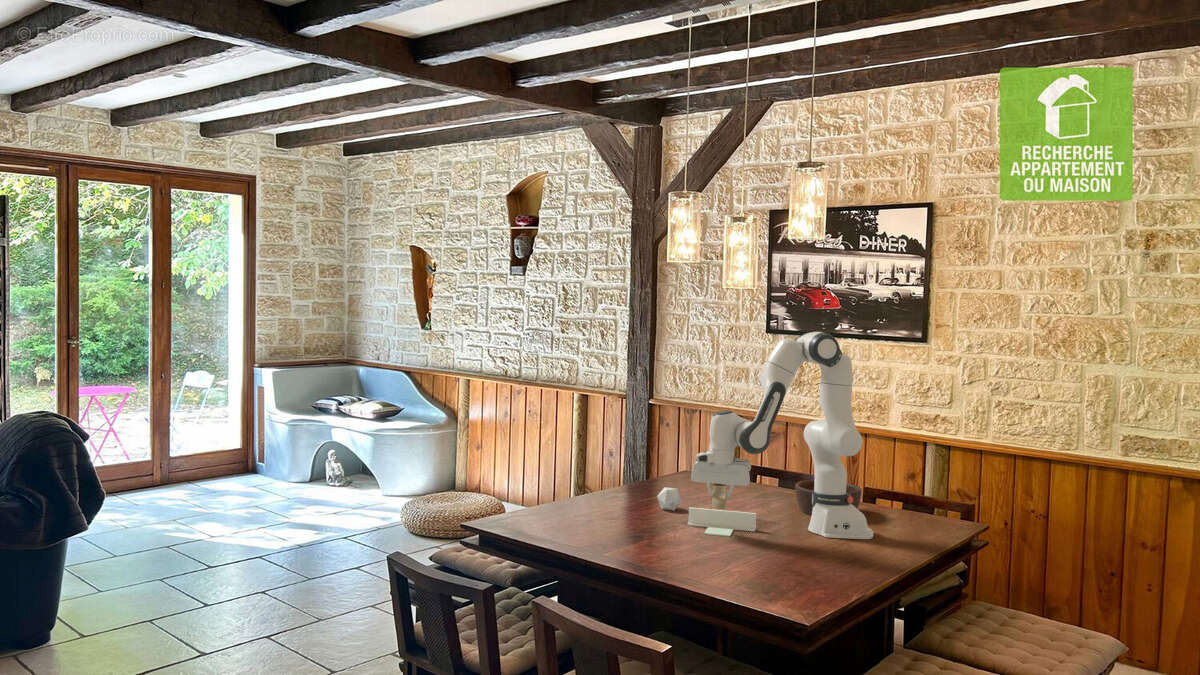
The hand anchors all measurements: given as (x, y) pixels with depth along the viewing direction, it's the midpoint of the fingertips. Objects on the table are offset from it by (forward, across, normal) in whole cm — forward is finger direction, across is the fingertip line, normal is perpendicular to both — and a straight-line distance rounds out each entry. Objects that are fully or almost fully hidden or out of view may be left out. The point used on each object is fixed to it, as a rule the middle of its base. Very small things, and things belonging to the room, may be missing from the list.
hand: (719, 496), depth 316 cm
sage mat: (+13, 0, 0) cm, 13 cm away
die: (+13, +23, -28) cm, 38 cm away
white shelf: (+13, 0, -8) cm, 15 cm away
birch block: (+4, 0, 0) cm, 4 cm away
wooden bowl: (+12, -36, -46) cm, 60 cm away
